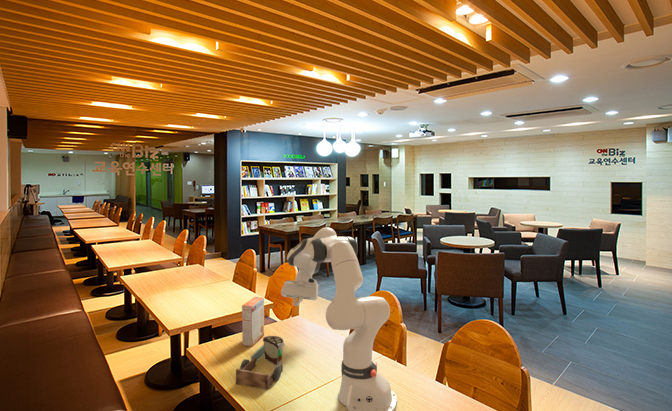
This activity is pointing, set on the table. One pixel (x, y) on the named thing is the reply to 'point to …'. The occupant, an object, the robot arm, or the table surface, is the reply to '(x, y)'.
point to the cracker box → (253, 321)
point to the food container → (273, 349)
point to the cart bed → (256, 375)
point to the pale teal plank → (258, 353)
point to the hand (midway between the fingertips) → (295, 305)
